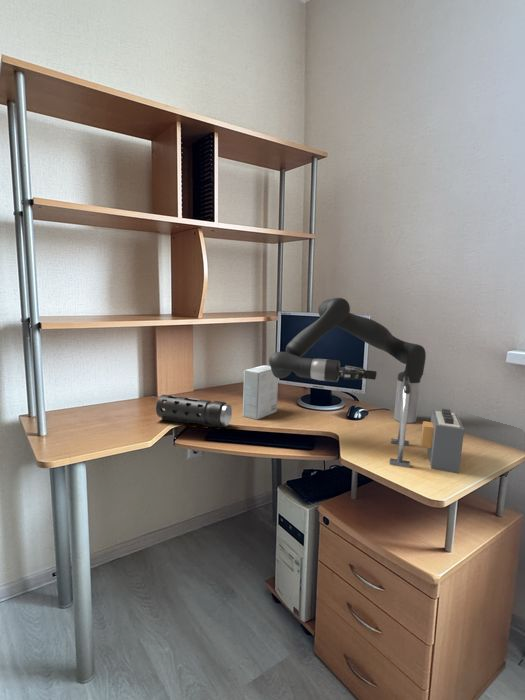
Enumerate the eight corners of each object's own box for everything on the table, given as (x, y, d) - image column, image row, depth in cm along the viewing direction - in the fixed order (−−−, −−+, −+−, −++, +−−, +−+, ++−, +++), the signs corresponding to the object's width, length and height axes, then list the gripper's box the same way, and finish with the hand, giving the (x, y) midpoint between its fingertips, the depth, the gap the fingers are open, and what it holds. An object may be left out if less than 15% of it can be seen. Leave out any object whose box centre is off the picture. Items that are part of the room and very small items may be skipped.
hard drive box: (262, 408, 190) (264, 364, 188) (277, 412, 186) (279, 367, 183) (241, 416, 178) (243, 369, 175) (256, 420, 173) (259, 372, 171)
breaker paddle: (420, 440, 145) (423, 421, 144) (436, 443, 144) (438, 423, 143) (421, 446, 140) (423, 426, 139) (438, 449, 138) (440, 428, 137)
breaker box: (427, 448, 151) (432, 405, 149) (452, 452, 149) (457, 408, 146) (431, 468, 134) (436, 419, 132) (458, 473, 132) (465, 423, 129)
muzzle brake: (167, 416, 173) (168, 391, 172) (232, 425, 166) (233, 400, 164) (155, 423, 164) (155, 396, 163) (222, 433, 156) (223, 406, 155)
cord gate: (391, 441, 157) (397, 374, 153) (408, 443, 155) (415, 376, 151) (389, 464, 136) (397, 387, 132) (409, 467, 134) (417, 389, 130)
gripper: (322, 362, 142) (376, 367, 137) (329, 356, 156) (378, 361, 150) (321, 384, 143) (373, 390, 138) (327, 376, 157) (376, 382, 151)
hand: (375, 375), depth 144 cm, fingers closed
